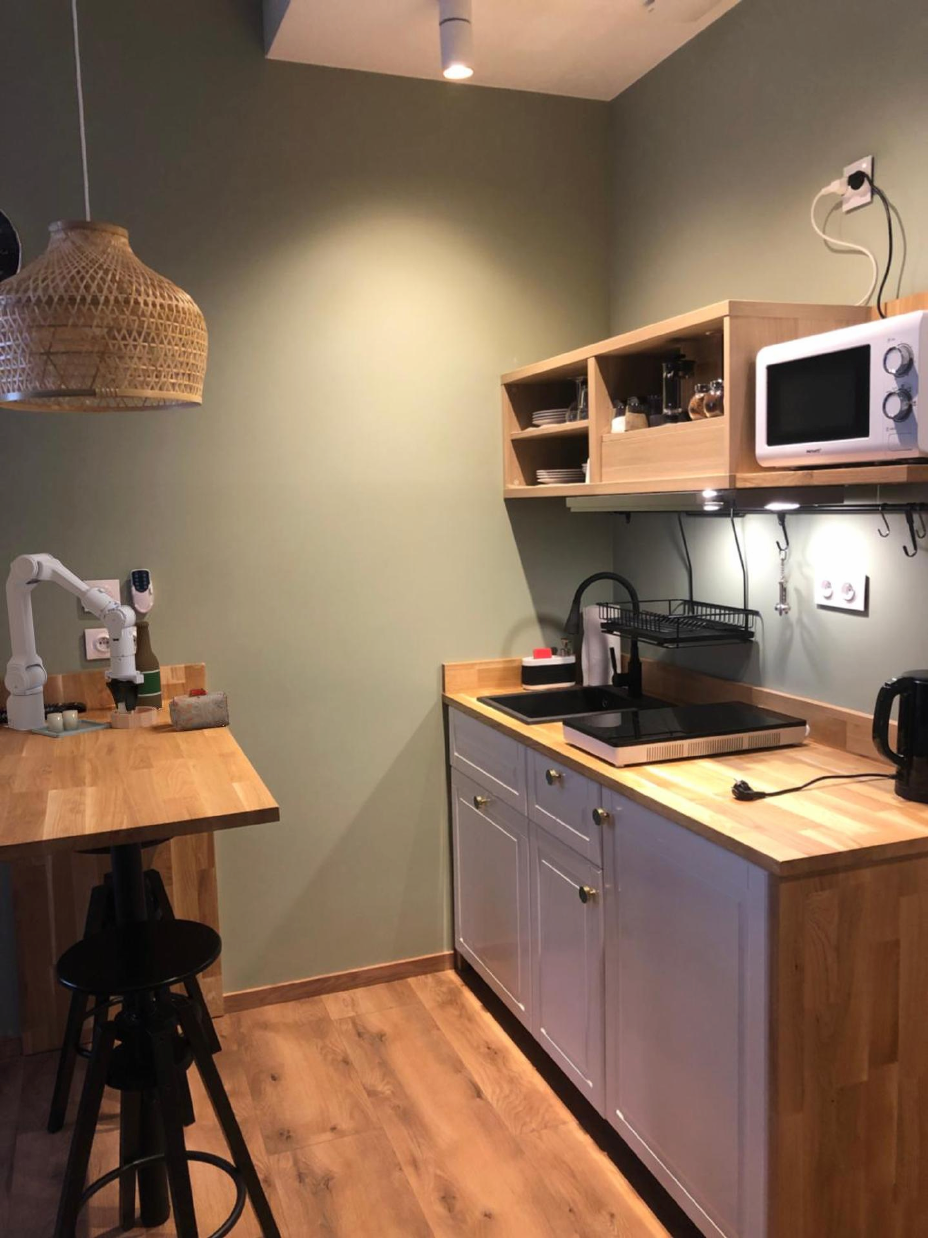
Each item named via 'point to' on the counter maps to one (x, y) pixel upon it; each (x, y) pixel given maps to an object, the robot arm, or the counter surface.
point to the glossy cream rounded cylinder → (70, 720)
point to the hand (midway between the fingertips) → (126, 709)
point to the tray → (83, 727)
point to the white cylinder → (55, 723)
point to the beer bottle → (147, 669)
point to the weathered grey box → (199, 710)
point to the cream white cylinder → (123, 709)
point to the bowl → (134, 718)
